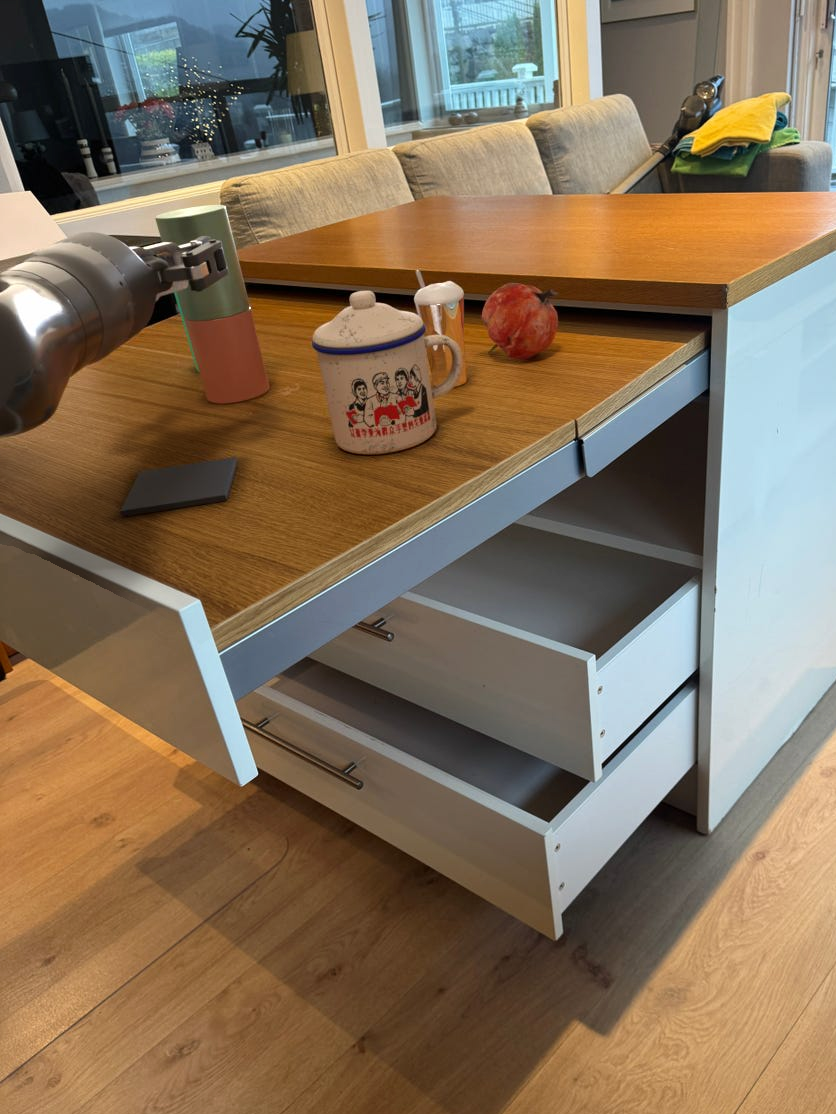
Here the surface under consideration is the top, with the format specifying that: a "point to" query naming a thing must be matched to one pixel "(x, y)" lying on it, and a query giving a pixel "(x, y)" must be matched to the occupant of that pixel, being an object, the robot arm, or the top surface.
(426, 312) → the milkshake
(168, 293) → the robot arm
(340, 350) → the teacup with lid
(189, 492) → the mat
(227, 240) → the upper tin
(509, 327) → the pomegranate
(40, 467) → the top surface
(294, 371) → the top surface
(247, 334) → the lower tin
